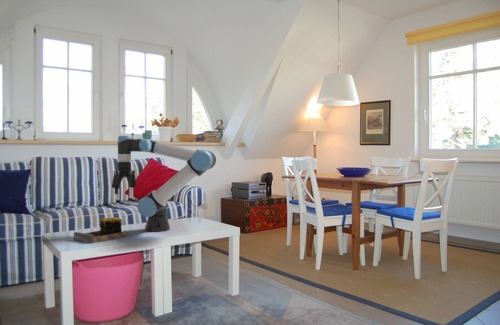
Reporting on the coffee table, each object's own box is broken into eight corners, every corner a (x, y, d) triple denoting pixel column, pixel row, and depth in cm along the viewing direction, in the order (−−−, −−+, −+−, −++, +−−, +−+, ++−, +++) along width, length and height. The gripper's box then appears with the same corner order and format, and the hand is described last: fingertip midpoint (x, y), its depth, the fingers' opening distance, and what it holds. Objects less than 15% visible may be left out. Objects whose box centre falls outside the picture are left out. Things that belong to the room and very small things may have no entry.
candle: (103, 238, 222) (103, 220, 222) (99, 235, 231) (99, 218, 231) (122, 236, 228) (121, 219, 228) (117, 233, 236) (117, 216, 236)
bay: (109, 232, 238) (108, 226, 238) (126, 235, 229) (126, 229, 229) (73, 239, 219) (73, 232, 219) (92, 243, 210) (91, 235, 210)
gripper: (134, 161, 248) (134, 196, 249) (104, 161, 230) (104, 200, 230) (142, 161, 244) (143, 197, 245) (113, 161, 226) (113, 201, 226)
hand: (124, 198), depth 237 cm, fingers open, 9 cm apart
